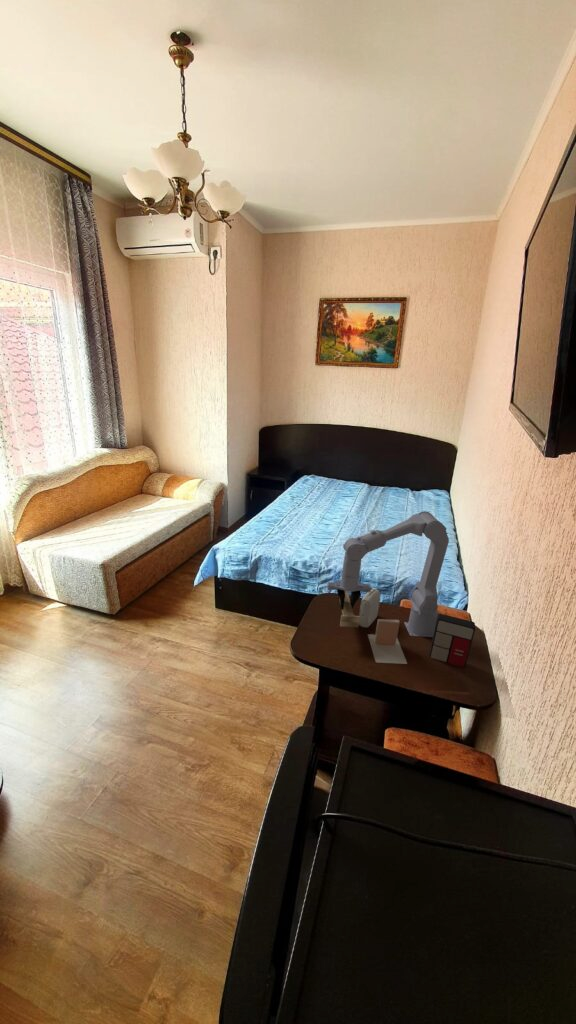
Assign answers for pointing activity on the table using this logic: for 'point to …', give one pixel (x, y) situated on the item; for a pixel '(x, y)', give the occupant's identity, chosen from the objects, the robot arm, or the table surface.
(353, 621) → the tan wooden slat
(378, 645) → the mat
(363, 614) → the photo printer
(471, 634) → the grey red panelled box
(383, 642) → the tile
